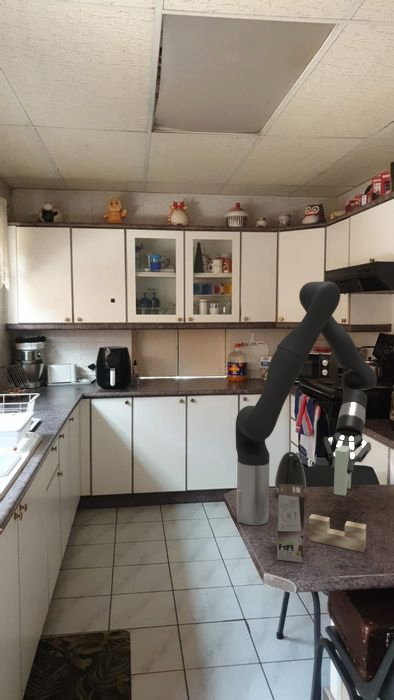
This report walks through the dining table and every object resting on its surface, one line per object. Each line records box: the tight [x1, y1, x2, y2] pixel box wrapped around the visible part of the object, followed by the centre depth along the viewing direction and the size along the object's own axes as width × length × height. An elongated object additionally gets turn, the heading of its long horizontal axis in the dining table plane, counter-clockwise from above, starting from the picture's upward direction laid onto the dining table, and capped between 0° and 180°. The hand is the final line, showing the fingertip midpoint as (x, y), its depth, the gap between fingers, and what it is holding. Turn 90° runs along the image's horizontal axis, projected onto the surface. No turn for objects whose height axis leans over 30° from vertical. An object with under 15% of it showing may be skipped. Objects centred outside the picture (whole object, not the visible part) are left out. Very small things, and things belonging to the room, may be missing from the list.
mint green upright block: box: [333, 445, 352, 496], centre depth 131 cm, size 9×3×12 cm, turn 152°
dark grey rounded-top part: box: [274, 451, 307, 493], centre depth 155 cm, size 10×10×15 cm
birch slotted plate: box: [308, 513, 367, 553], centre depth 121 cm, size 14×3×6 cm, turn 62°
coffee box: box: [276, 484, 306, 563], centre depth 116 cm, size 9×6×16 cm
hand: (341, 471), depth 129 cm, fingers closed on mint green upright block, 3 cm apart
